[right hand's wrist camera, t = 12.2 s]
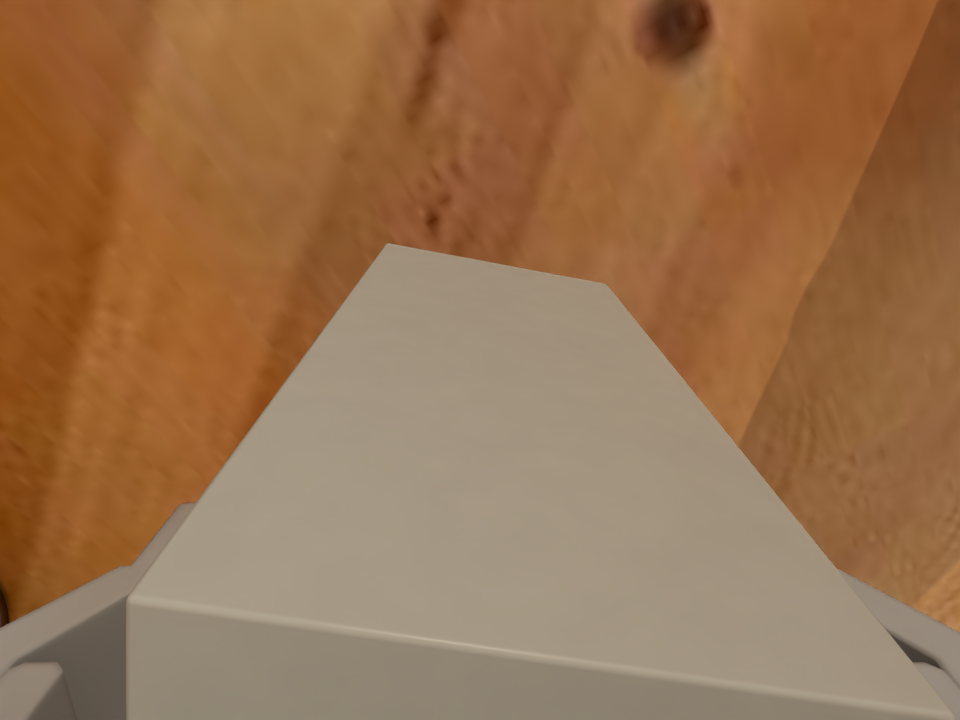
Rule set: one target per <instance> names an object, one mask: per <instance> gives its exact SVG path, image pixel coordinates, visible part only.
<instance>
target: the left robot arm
mask: <svg viewBox="0 0 960 720" xmlns="http://www.w3.org/2000/svg"><path fill="white" fill-rule="evenodd" d="M7 621H8V612H7V605H6V601H5V598H4V596H3V593H2V591H1V589H0V628H1V627H3V626H5V625H7Z"/></svg>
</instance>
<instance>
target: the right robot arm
mask: <svg viewBox="0 0 960 720" xmlns="http://www.w3.org/2000/svg"><path fill="white" fill-rule="evenodd" d="M195 504H196V502H187V503H183V504H180V505H179V506H178V507H177V508H176V510H175V511H174V512H173V514H172V515H171V516H170V517H169V519H168V520H167V521H166V522H165V524H164V525H163V526H162V527H161V529H160V530H159V531H158V532H157V534H156V535H155V536H154V537H153V539H152V540H151V541H150V542H149V544H148V545H147V546H146V547H145V549H144V550H143V551H142V552H141V554H140V555H139V556H138V558H137V559H136V560H135V561H134V563H133V564H132V565H131V566H120V567H118V568H116V569H114V570H112V571H110V572H108V573H106V574H104V575H102V576H100V577H98V578H96V579H94V580H92V581H90V582H89V583H87V584H85V585H83V586H81V587H79V588H77V589H75V590H73V591H71V592H69V593H67V594H65V595H63V596H61V597H59V598H57V599H56V600H54V601H52V602H50V603H48V604H46V605H44V606H42V607H40V608H38V609H36V610H34V611H32V612H30V613H28V614H26V615H24V616H23V617H21V618H19V619H17V620H15V621H13V622H11V623H9V624H7V625H5V626H3V627H1V628H0V720H126V598H127V597H128V595H129V593H130V592H131V591H132V589H133V588H134V586H135V585H136V584H137V582H138V581H139V580H140V578H141V577H142V576H143V574H144V573H145V572H146V570H147V569H148V567H149V566H150V565H151V563H152V562H153V561H154V559H155V558H156V557H157V555H158V554H159V552H160V551H161V550H162V548H163V547H164V546H165V544H166V543H167V542H168V540H169V539H170V538H171V536H172V535H173V533H174V532H175V531H176V529H177V528H178V527H179V525H180V524H181V523H182V521H183V520H184V518H185V517H186V516H187V514H188V513H189V512H190V510H191V509H192V508H193V506H194V505H195ZM837 570H838V571H839V572H840V573H841V575H842V576H843V577H844V578H845V580H846V581H847V582H848V583H849V585H850V586H851V587H852V588H853V589H854V591H855V592H856V593H857V594H858V596H859V597H860V598H861V599H862V601H863V602H864V603H865V604H866V606H867V607H868V608H869V609H870V610H871V612H872V613H873V614H874V615H875V617H876V618H877V619H878V620H879V622H880V623H881V624H882V625H883V627H884V628H885V629H886V630H887V631H888V633H889V634H890V635H891V636H892V638H893V639H894V640H895V641H896V643H897V644H898V645H899V646H900V648H901V649H902V650H903V651H904V652H905V654H906V655H907V656H908V657H909V659H910V660H911V661H912V662H913V664H914V665H915V666H916V667H917V669H918V670H919V671H920V672H921V673H922V675H923V676H924V677H925V678H926V680H927V681H928V682H929V683H930V685H931V686H932V687H933V688H934V690H935V691H936V692H937V693H938V694H939V696H940V697H941V698H942V699H943V701H944V702H945V703H946V704H947V706H948V707H949V708H950V709H951V711H952V712H953V714H954V716H955V719H954V720H960V632H958V631H956V630H954V629H952V628H950V627H948V626H946V625H944V624H942V623H941V622H939V621H937V620H935V619H933V618H931V617H929V616H927V615H925V614H923V613H921V612H919V611H918V610H916V609H914V608H912V607H910V606H908V605H906V604H904V603H902V602H900V601H898V600H896V599H895V598H893V597H891V596H889V595H887V594H885V593H883V592H881V591H879V590H877V589H875V588H873V587H872V586H870V585H868V584H866V583H864V582H862V581H860V580H858V579H856V578H854V577H852V576H850V575H849V574H847V573H845V572H843V571H841V570H839V569H837Z"/></svg>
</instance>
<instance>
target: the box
mask: <svg viewBox="0 0 960 720" xmlns="http://www.w3.org/2000/svg"><path fill="white" fill-rule="evenodd" d="M954 719H955V716H954V714H953V712H952V711H951V709H950V708H949V707H948V706H947V704H946V703H945V702H944V701H943V699H942V698H941V697H940V696H939V694H938V693H937V692H936V691H935V690H934V688H933V687H932V686H931V685H930V683H929V682H928V681H927V680H926V678H925V677H924V676H923V675H922V673H921V672H920V671H919V670H918V669H917V667H916V666H915V665H914V664H913V662H912V661H911V660H910V659H909V657H908V656H907V655H906V654H905V652H904V651H903V650H902V649H901V648H900V646H899V645H898V644H897V643H896V641H895V640H894V639H893V638H892V636H891V635H890V634H889V633H888V631H887V630H886V629H885V628H884V627H883V625H882V624H881V623H880V622H879V620H878V619H877V618H876V617H875V615H874V614H873V613H872V612H871V610H870V609H869V608H868V607H867V606H866V604H865V603H864V602H863V601H862V599H861V598H860V597H859V596H858V594H857V593H856V592H855V591H854V589H853V588H852V587H851V586H850V585H849V583H848V582H847V581H846V580H845V578H844V577H843V576H842V575H841V573H840V572H839V571H838V570H837V568H836V567H835V566H834V565H833V564H832V562H831V561H830V560H829V559H828V557H827V556H826V555H825V554H824V552H823V551H822V550H821V549H820V547H819V546H818V545H817V544H816V542H815V541H814V540H813V539H812V538H811V536H810V535H809V534H808V533H807V531H806V530H805V529H804V528H803V526H802V525H801V524H800V523H799V521H798V520H797V519H796V518H795V517H794V515H793V514H792V513H791V512H790V510H789V509H788V508H787V507H786V505H785V504H784V503H783V502H782V500H781V499H780V498H779V497H778V496H777V494H776V493H775V492H774V491H773V489H772V488H771V487H770V486H769V484H768V483H767V482H766V481H765V479H764V478H763V477H762V476H761V475H760V473H759V472H758V471H757V470H756V468H755V467H754V466H753V465H752V463H751V462H750V461H749V460H748V458H747V457H746V456H745V455H744V454H743V452H742V451H741V450H740V449H739V447H738V446H737V445H736V444H735V442H734V441H733V440H732V439H731V437H730V436H729V435H728V434H727V433H726V431H725V430H724V429H723V428H722V426H721V425H720V424H719V423H718V421H717V420H716V419H715V418H714V416H713V415H712V414H711V413H710V412H709V410H708V409H707V408H706V407H705V405H704V404H703V403H702V402H701V400H700V399H699V398H698V397H697V395H696V394H695V393H694V392H693V391H692V389H691V388H690V387H689V386H688V384H687V383H686V382H685V381H684V379H683V378H682V377H681V376H680V374H679V373H678V372H677V371H676V369H675V368H674V367H673V366H672V365H671V363H670V362H669V361H668V360H667V358H666V357H665V356H664V355H663V353H662V352H661V351H660V350H659V348H658V347H657V346H656V345H655V344H654V342H653V341H652V340H651V339H650V337H649V336H648V335H647V334H646V332H645V331H644V330H643V329H642V327H641V326H640V325H639V324H638V323H637V321H636V320H635V319H634V318H633V316H632V315H631V314H630V313H629V311H628V310H627V309H626V308H625V306H624V305H623V304H622V303H621V302H620V300H619V299H618V298H617V297H616V295H615V294H614V293H613V292H612V290H611V289H610V288H609V287H608V285H607V284H604V283H599V282H593V281H588V280H583V279H577V278H572V277H566V276H561V275H556V274H550V273H545V272H540V271H534V270H529V269H524V268H518V267H513V266H508V265H502V264H497V263H491V262H486V261H481V260H475V259H470V258H465V257H459V256H454V255H449V254H443V253H438V252H433V251H427V250H422V249H416V248H411V247H406V246H400V245H395V244H390V243H387V244H386V245H385V246H384V248H383V249H382V251H381V252H380V253H379V255H378V256H377V257H376V259H375V260H374V261H373V263H372V264H371V266H370V267H369V268H368V270H367V271H366V272H365V274H364V275H363V276H362V278H361V279H360V280H359V282H358V283H357V285H356V286H355V287H354V289H353V290H352V291H351V293H350V294H349V295H348V297H347V298H346V300H345V301H344V302H343V304H342V305H341V306H340V308H339V309H338V310H337V312H336V313H335V314H334V316H333V317H332V319H331V320H330V321H329V323H328V324H327V325H326V327H325V328H324V329H323V331H322V332H321V334H320V335H319V336H318V338H317V339H316V340H315V342H314V343H313V344H312V346H311V347H310V348H309V350H308V351H307V353H306V354H305V355H304V357H303V358H302V359H301V361H300V362H299V363H298V365H297V366H296V368H295V369H294V370H293V372H292V373H291V374H290V376H289V377H288V378H287V380H286V381H285V382H284V384H283V385H282V387H281V388H280V389H279V391H278V392H277V393H276V395H275V396H274V397H273V399H272V400H271V402H270V403H269V404H268V406H267V407H266V408H265V410H264V411H263V412H262V414H261V415H260V416H259V418H258V419H257V421H256V422H255V423H254V425H253V426H252V427H251V429H250V430H249V431H248V433H247V434H246V436H245V437H244V438H243V440H242V441H241V442H240V444H239V445H238V446H237V448H236V449H235V450H234V452H233V453H232V455H231V456H230V457H229V459H228V460H227V461H226V463H225V464H224V465H223V467H222V468H221V470H220V471H219V472H218V474H217V475H216V476H215V478H214V479H213V480H212V482H211V483H210V484H209V486H208V487H207V489H206V490H205V491H204V493H203V494H202V495H201V497H200V498H199V499H198V501H197V502H196V504H195V505H194V506H193V508H192V509H191V510H190V512H189V513H188V514H187V516H186V517H185V518H184V520H183V521H182V523H181V524H180V525H179V527H178V528H177V529H176V531H175V532H174V533H173V535H172V536H171V538H170V539H169V540H168V542H167V543H166V544H165V546H164V547H163V548H162V550H161V551H160V552H159V554H158V555H157V557H156V558H155V559H154V561H153V562H152V563H151V565H150V566H149V567H148V569H147V570H146V572H145V573H144V574H143V576H142V577H141V578H140V580H139V581H138V582H137V584H136V585H135V586H134V588H133V589H132V591H131V592H130V593H129V595H128V597H127V598H126V720H954Z"/></svg>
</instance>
